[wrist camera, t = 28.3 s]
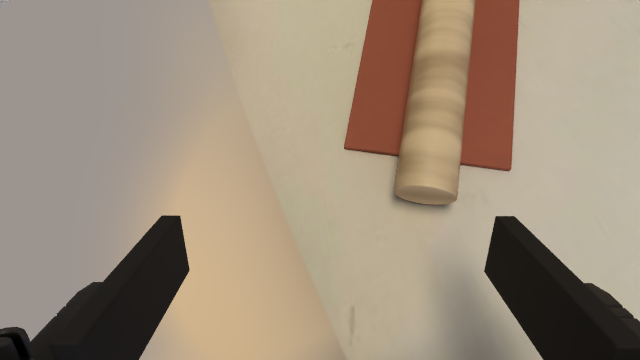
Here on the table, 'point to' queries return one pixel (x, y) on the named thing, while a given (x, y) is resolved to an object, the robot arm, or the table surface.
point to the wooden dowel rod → (436, 103)
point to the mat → (395, 71)
